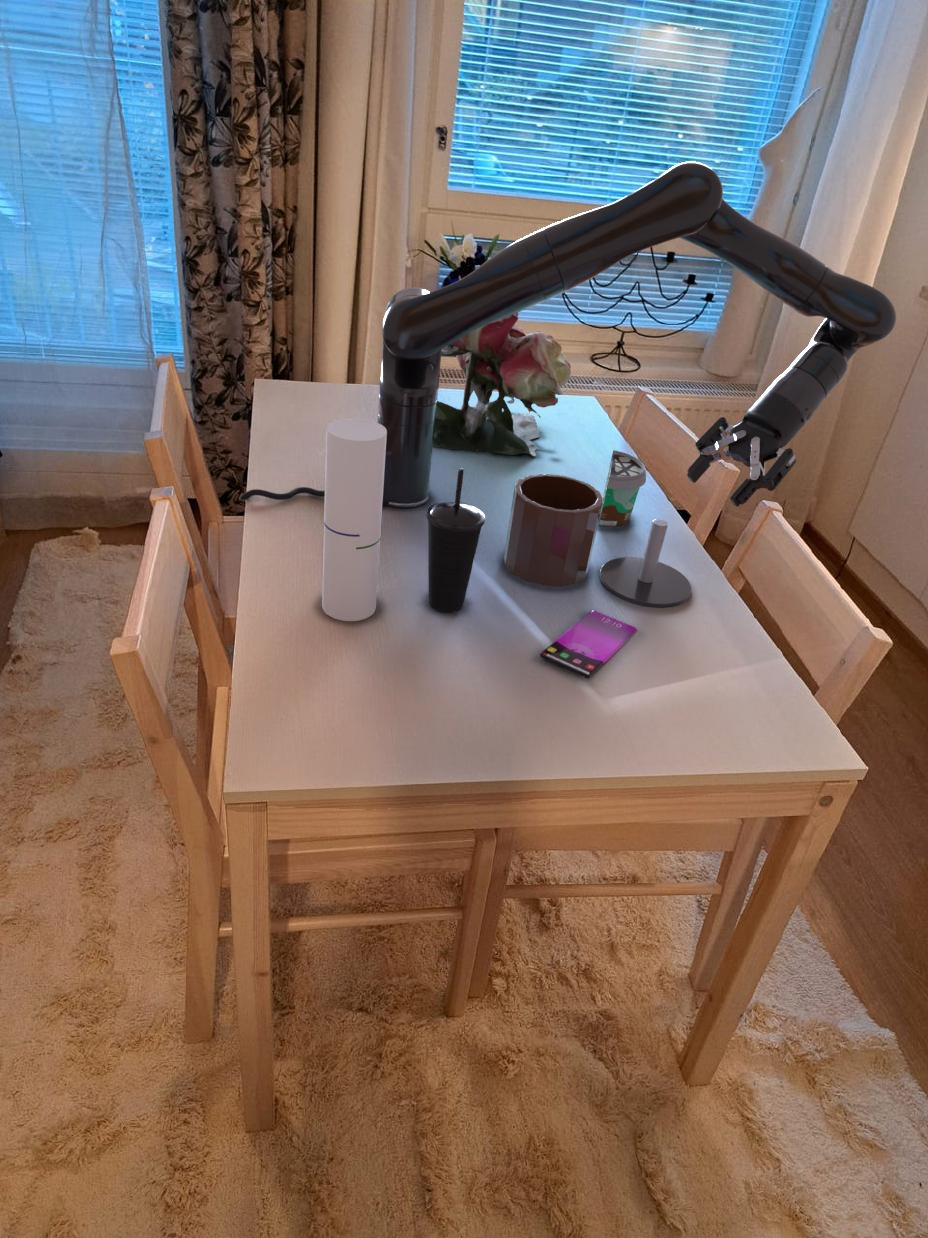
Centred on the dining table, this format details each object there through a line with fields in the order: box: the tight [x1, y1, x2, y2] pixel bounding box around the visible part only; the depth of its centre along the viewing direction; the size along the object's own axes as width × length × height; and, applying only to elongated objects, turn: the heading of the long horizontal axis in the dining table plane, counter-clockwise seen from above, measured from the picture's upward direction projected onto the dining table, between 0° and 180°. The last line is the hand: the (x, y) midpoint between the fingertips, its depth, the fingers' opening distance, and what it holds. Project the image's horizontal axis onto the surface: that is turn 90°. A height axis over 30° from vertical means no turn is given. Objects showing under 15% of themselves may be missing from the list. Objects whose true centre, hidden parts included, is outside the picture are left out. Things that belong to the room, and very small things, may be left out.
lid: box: [599, 518, 692, 608], centre depth 128 cm, size 14×14×11 cm
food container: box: [598, 449, 647, 528], centre depth 147 cm, size 12×6×10 cm, turn 168°
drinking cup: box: [425, 467, 486, 614], centre depth 115 cm, size 8×8×20 cm
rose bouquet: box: [433, 312, 572, 457], centre depth 170 cm, size 26×29×30 cm
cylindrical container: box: [321, 417, 387, 622], centre depth 111 cm, size 7×7×25 cm
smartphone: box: [539, 609, 638, 679], centre depth 115 cm, size 7×15×1 cm, turn 146°
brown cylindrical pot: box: [503, 473, 603, 588], centre depth 129 cm, size 13×13×12 cm
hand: (711, 490), depth 128 cm, fingers open, 8 cm apart
